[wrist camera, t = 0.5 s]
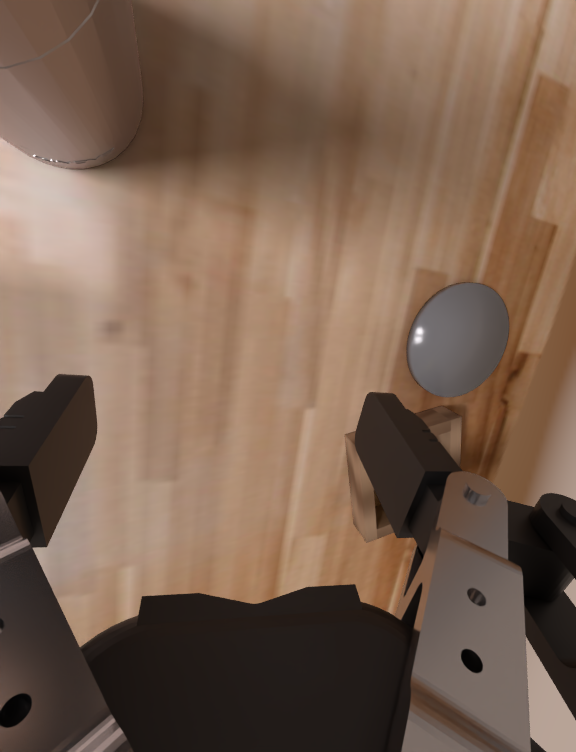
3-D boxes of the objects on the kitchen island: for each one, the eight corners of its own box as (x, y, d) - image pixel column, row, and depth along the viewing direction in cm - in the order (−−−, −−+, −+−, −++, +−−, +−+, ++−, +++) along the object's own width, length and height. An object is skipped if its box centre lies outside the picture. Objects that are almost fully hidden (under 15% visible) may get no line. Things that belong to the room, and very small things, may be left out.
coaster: (404, 294, 33) (410, 295, 32) (505, 273, 35) (513, 273, 35) (407, 406, 37) (412, 409, 36) (498, 379, 39) (504, 382, 39)
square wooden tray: (344, 434, 36) (358, 448, 33) (441, 405, 38) (461, 416, 36) (353, 524, 39) (366, 542, 37) (441, 492, 42) (458, 508, 39)
